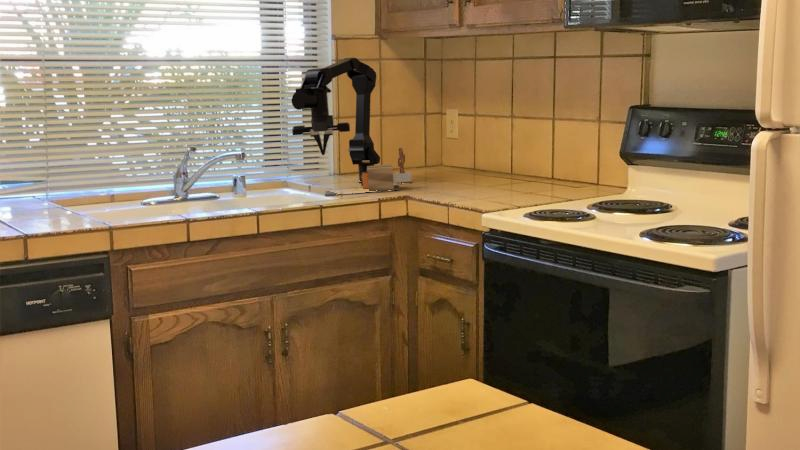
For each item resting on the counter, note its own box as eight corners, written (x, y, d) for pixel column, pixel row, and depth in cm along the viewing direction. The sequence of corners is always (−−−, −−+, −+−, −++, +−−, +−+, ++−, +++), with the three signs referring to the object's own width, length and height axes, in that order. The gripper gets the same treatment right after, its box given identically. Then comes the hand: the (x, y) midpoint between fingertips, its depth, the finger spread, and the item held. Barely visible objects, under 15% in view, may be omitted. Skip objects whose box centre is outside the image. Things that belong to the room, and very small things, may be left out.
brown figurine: (394, 181, 315) (391, 147, 313) (404, 180, 316) (402, 146, 314) (400, 184, 306) (398, 148, 304) (411, 183, 307) (409, 147, 305)
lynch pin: (361, 187, 297) (360, 171, 296) (411, 183, 298) (410, 168, 297) (361, 189, 292) (360, 173, 291) (411, 185, 293) (410, 169, 292)
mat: (326, 191, 300) (325, 190, 300) (398, 186, 301) (398, 184, 300) (325, 196, 289) (324, 194, 289) (400, 190, 290) (400, 188, 290)
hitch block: (368, 187, 300) (366, 166, 298) (392, 185, 300) (391, 164, 299) (368, 191, 290) (367, 169, 289) (393, 189, 290) (392, 167, 289)
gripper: (289, 110, 289) (293, 159, 292) (347, 106, 290) (351, 155, 293) (291, 109, 300) (295, 156, 303) (348, 105, 301) (351, 152, 303)
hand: (323, 155), depth 300 cm, fingers closed
